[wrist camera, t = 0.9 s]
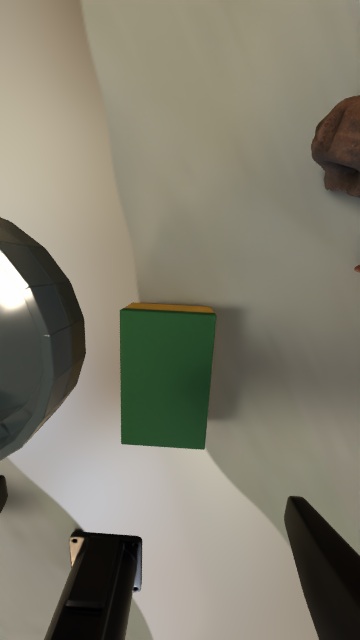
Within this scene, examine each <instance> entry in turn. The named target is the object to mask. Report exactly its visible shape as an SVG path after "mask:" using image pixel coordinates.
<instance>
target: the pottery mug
mask: <svg viewBox="0 0 360 640" xmlns="http://www.w3.org/2000/svg"><path fill="white" fill-rule="evenodd" d="M311 150H312V158H313V159H314V161H316V162H317V163H318V164H319V165H320V166H321V167H322V168H323V169H324V170H325V178H324V182H325V188H326V189H327V190H328V189H330V190H341V191H343V190H344V191H347V193H348V194H350V195H354V196H359V197H360V96H353V97H349V98H346V99H344V100H343V101H341V102H340V103H338V104H337V105H336V106H335V107H334V108H333V109H332V110H331V112H330V113H329V114H328V115H327V116H326V117H325V118H324V119H323V120H322V121H321V122H320V123H319V124H318V125H317V127H316V131H315V137H314V139H313V141H312V144H311ZM354 270H355V271H357V272H360V265H358V266H356V267H355V268H354Z"/></svg>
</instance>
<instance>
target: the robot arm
mask: <svg viewBox="0 0 360 640" xmlns="http://www.w3.org/2000/svg"><path fill="white" fill-rule="evenodd" d="M7 497H8V493H7V486H6V479H5V477H4V476H3V475H0V513H1V511H2V509H3V507H4V506H5V504H6V501H7ZM284 521H285V526H286V530H287V534H288V537H289V541H290V545H291V549H292V552H293V556H294V560H295V564H296V567H297V571H298V575H299V578H300V582H301V586H302V589H303V593H304V596H305V599H306V602H307V605H308V608H309V611H310V614H311V617H312V620H313V623H314V626H315V629H316V631H317V634H318V637H319V640H360V556H359V555H358V554H357V552H356V551H355V550H354V549H353V548H352V547H351V546H350V545H349V544H348V543H347V542H346V541H345V540H344V539H343V538H342V537H341V536H340V535H339V534H338V533H337V532H336V531H335V530H334V529H333V528H332V527H331V526H330V525H329V523H328V522H327V521H326V520H325V519H324V518H323V517H322V516H321V515H320V514H319V513H318V512H317V511H316V510H315V509H314V508H313V507H312V506H311V505H310V504H309V503H308V502H307V501H306V500H305V499H304V498H303V497H299V496H289V497H288V500H287V505H286V510H285V515H284ZM69 544H70V556H71V571H70V574H69V576H68V579H67V582H66V584H65V587H64V589H63V592H62V595H61V597H60V600H59V602H58V605H57V608H56V610H55V613H54V615H53V618H52V620H51V623H50V626H49V628H48V631H47V633H46V636H45V639H44V640H125V635H126V629H127V623H128V617H129V611H130V605H131V599H132V593H133V592H139V591H140V590H141V583H142V582H141V581H142V539H141V537H138V536H129V535H117V534H103V533H90V532H77V531H76V532H73V533H72V534H71V537H70V539H69Z"/></svg>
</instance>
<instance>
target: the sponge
mask: <svg viewBox="0 0 360 640" xmlns="http://www.w3.org/2000/svg"><path fill="white" fill-rule="evenodd" d="M215 327H216V314H215V313H214V312H213V310H212V308H211V307H204V306H186V305H168V304H149V303H132V304H130V305H128V306H127V307H125V308H123V309H121V310H120V358H121V359H120V361H121V443H122V444H129V445H143V446H159V447H174V448H188V449H203V450H204V449H205V439H206V428H207V417H208V405H209V394H210V383H211V372H212V360H213V349H214V338H215Z"/></svg>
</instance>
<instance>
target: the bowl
mask: <svg viewBox="0 0 360 640" xmlns="http://www.w3.org/2000/svg"><path fill="white" fill-rule="evenodd" d="M85 354H86V348H85V328H84V317H83V314H82V312H81V309H80V306H79V304H78V301H77V298H76V296H75V293H74V290H73V287H72V285H71V283H70V281H69V279H68V278H67V277H66V275H65V274H64V273H63V271H62V270H61V269H60V267H59V266H58V265H57V263H56V262H55V261H54V259H53V258H52V257H51V255H50V254H49V253H48V251H47V250H46V249H45V248H44V247H43V246H42V245H40V244H39V243H38V242H36V241H35V240H34V239H33V238H31V237H30V236H29V235H27V234H26V233H25V232H24V231H22V230H21V229H19V228H18V227H17V226H16V225H14V224H13V223H12V222H10V221H8V220H5V219H3V218H0V460H2V459H4V458H5V457H7V456H9V455H10V454H12V453H13V452H15V451H17V450H19V449H20V448H22V447H23V445H25V443H27V442H28V440H29V439H30V438H31V437H32V436H33V435H34V434H35V433H36V432H37V431H38V430H39V429H40V428H41V426H42V425H43V424H44V423H45V422H46V421H47V420H48V419H49V418H50V417H51V416H52V415H53V413H54V412H55V411H56V410H57V409H58V408H59V407H60V406H61V404H62V403H63V401H64V400H65V399H66V398H67V396H68V395H69V394H70V392H71V391H72V390H73V389H74V387H75V386H76V384H77V381H78V378H79V375H80V371H81V368H82V365H83V361H84V358H85Z"/></svg>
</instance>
